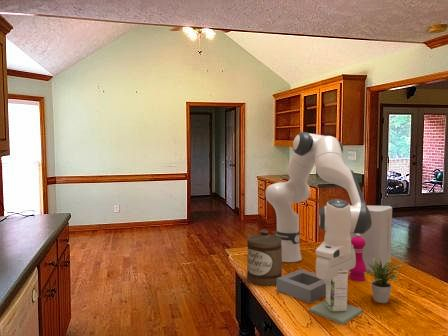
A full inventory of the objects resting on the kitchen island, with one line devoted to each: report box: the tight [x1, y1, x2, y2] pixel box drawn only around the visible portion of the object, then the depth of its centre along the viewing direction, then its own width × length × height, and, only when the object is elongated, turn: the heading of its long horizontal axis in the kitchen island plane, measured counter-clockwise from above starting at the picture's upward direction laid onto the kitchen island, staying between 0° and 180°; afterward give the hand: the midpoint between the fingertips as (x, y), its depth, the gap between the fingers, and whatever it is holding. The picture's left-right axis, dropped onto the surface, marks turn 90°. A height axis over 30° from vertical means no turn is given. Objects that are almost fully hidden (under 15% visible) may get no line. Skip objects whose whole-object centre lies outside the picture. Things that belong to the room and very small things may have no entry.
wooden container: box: [246, 228, 283, 287], centre depth 161 cm, size 15×15×22 cm
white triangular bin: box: [350, 204, 393, 273], centre depth 177 cm, size 19×15×28 cm
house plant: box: [364, 257, 402, 304], centre depth 139 cm, size 14×14×16 cm
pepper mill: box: [349, 234, 367, 282], centre depth 162 cm, size 7×7×20 cm
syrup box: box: [325, 268, 349, 312], centre depth 131 cm, size 6×6×14 cm
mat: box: [308, 299, 364, 326], centre depth 131 cm, size 13×13×1 cm
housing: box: [276, 268, 326, 304], centre depth 149 cm, size 16×16×5 cm
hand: (336, 285), depth 131 cm, fingers closed on syrup box, 8 cm apart
